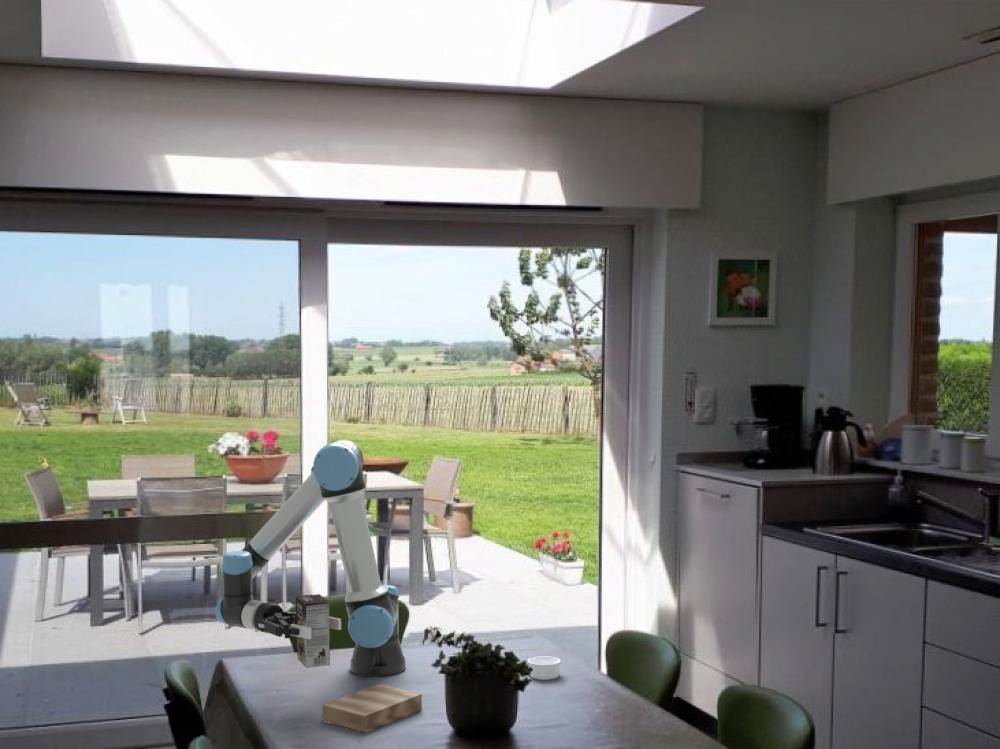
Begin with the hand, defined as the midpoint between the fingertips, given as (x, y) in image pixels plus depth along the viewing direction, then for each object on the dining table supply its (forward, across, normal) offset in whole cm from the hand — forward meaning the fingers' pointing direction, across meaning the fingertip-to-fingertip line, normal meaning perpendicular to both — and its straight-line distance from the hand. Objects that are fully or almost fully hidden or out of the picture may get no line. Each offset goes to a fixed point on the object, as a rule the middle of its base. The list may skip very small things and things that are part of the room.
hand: (325, 628), depth 294 cm
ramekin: (+28, -53, -20) cm, 63 cm away
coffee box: (-4, 0, -9) cm, 10 cm away
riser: (+13, -2, -20) cm, 24 cm away
